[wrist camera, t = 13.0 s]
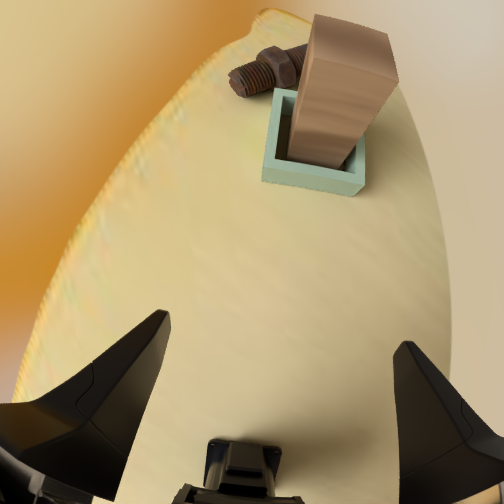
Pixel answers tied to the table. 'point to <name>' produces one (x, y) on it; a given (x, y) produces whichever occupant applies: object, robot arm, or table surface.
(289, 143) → the peg
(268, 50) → the bolt
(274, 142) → the collar
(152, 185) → the table surface
